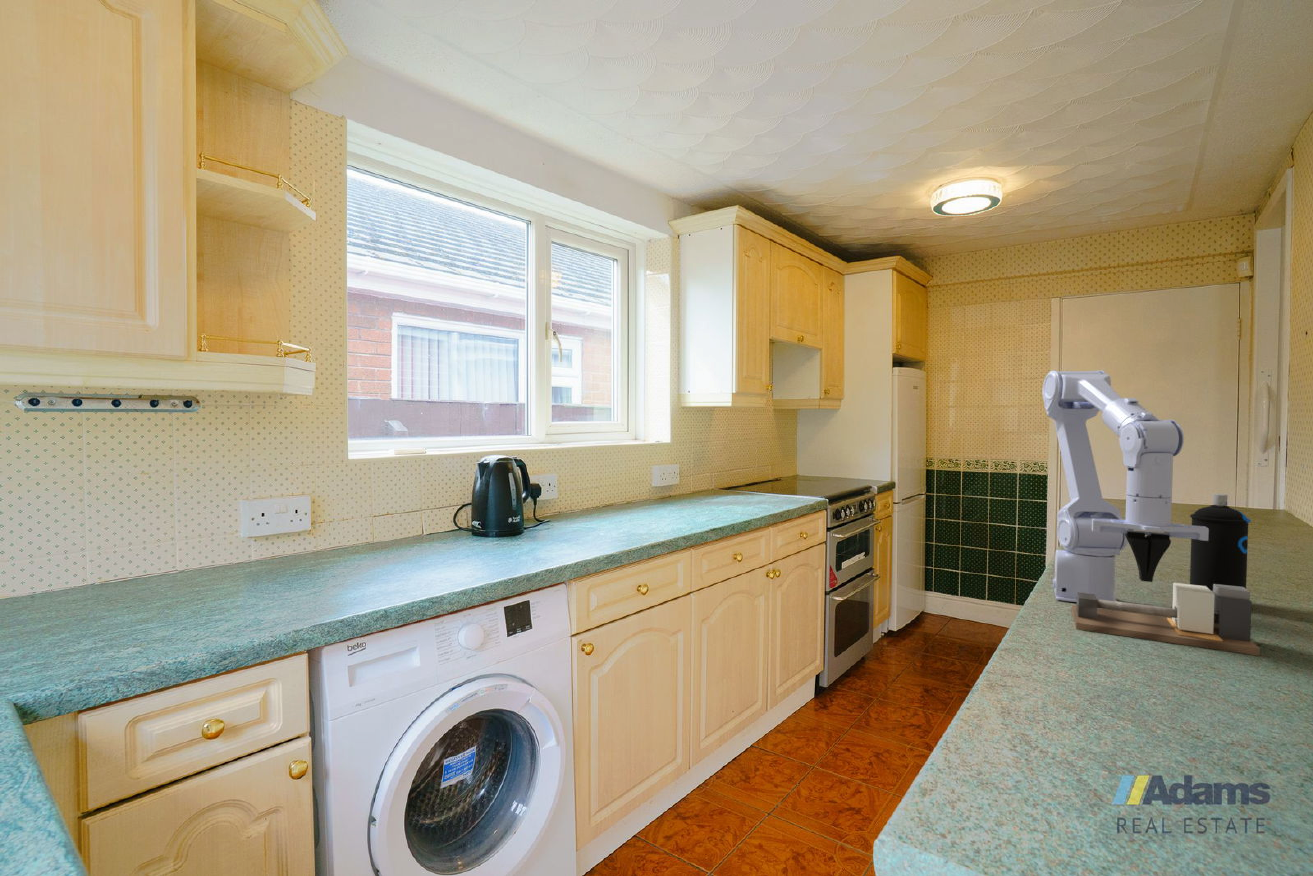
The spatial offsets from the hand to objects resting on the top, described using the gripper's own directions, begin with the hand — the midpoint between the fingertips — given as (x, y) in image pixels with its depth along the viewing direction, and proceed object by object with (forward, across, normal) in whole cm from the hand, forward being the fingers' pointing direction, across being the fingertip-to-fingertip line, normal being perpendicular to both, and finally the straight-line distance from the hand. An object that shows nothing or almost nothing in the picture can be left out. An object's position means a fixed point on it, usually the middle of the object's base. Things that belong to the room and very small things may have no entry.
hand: (1145, 580), depth 99 cm
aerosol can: (+8, +14, +25) cm, 30 cm away
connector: (+8, +10, 0) cm, 13 cm away
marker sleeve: (+7, +6, 0) cm, 9 cm away
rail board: (+8, +1, 0) cm, 8 cm away
